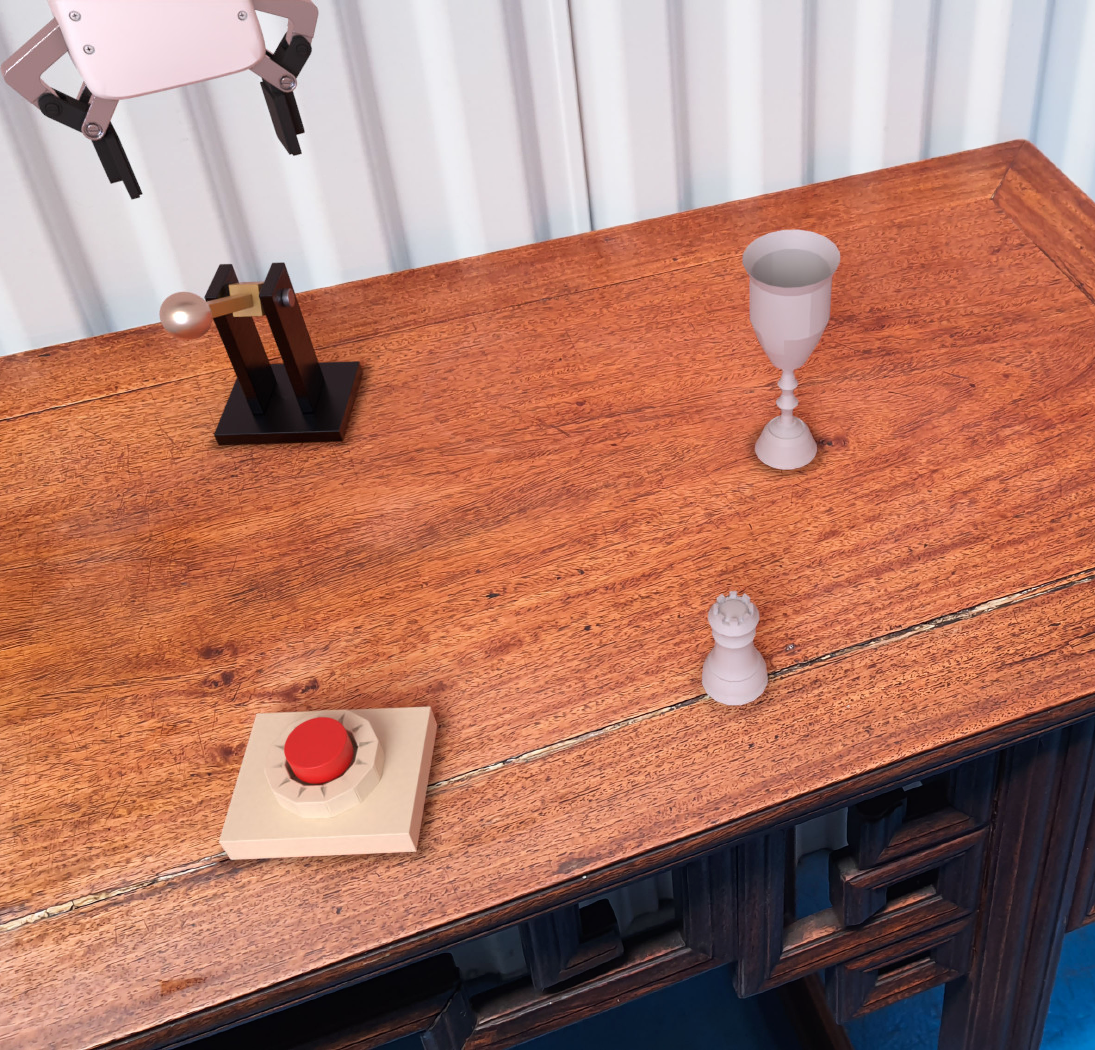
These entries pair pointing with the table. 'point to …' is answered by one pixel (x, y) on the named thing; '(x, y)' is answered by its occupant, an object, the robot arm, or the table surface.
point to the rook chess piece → (734, 652)
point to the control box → (333, 788)
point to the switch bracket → (280, 372)
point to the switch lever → (208, 309)
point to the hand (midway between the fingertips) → (213, 166)
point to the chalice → (789, 327)
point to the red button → (318, 750)
